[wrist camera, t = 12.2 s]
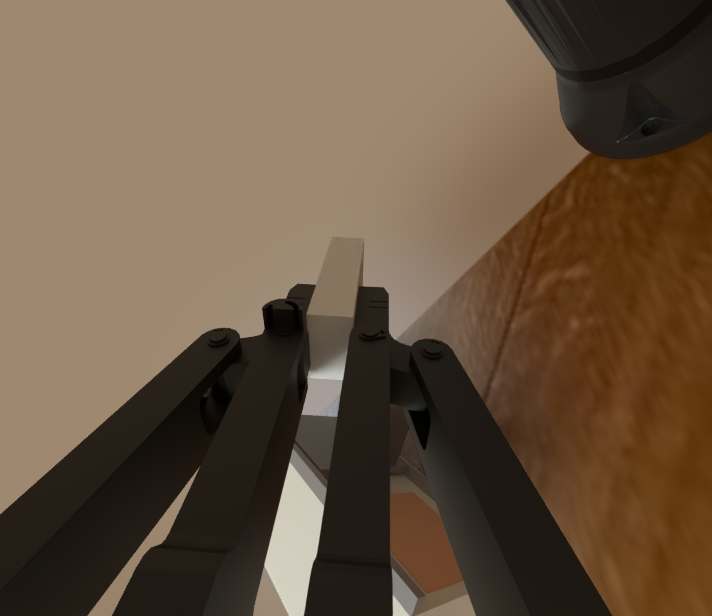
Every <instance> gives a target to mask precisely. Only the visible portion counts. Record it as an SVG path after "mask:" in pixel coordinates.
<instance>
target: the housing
mask: <svg viewBox="0 0 712 616" xmlns="http://www.w3.org/2000/svg"><path fill="white" fill-rule="evenodd" d="M399 459H400V460H401V461H403V462H404V463H405V464H406V465H407V469H406V472H402V473H390V561H391V567H392V578H393V616H476V615H475V612H474V609H473V606H472V604H471V601H470V598H469V595H468V592H467V589H466V587H465V584H464V581H463V578H462V575H461V572H460V570H459V567H458V564H457V561H456V558H455V556H454V553H453V550H452V547H451V544H450V541H449V539H448V536H447V533H446V530H445V527H444V524H443V522H442V519H441V516H440V513H439V510H438V507H437V505H436V502H435V499H434V496H433V493H432V491H431V488H430V485H429V482H428V479H427V476H426V475H425V474H423V473H422V472H421V471H420V470H418V469H417V468H416V467H415V466H414V465H412V464H411V463H410V462H409V461H407V460H406V459H405V458H404V457H403V456H401V455H399ZM327 484H328V477H324V476H323V475H322V474H321V473H320V472H319V470H318V469H317V468H316V467H315V466H314V465H313V463H312V462H311V461H310V460H309V459H308V458H307V456H306V455H305V454H304V453H303V452H302V451H301V450H300V448H299V447H298V446H297V445H296V444H295V443H294V446H293V450H292V454H291V459H290V463H289V467H288V471H287V475H286V479H285V483H284V487H283V491H282V495H281V499H280V503H279V507H278V511H277V515H276V519H275V523H274V527H273V531H272V536H271V540H270V544H269V548H268V552H267V556H266V560H265V564H264V566H265V568H266V569H267V572H268V574H269V576H270V578H271V580H272V582H273V584H274V586H275V588H276V590H277V592H278V594H279V596H280V598H281V600H282V602H283V604H284V606H285V608H286V610H287V612H288V614H289V616H304V611H305V605H306V598H307V592H308V586H309V580H310V574H311V569H312V565H313V561H314V560H315V558H316V555H317V550H318V544H319V537H320V531H321V524H322V517H323V510H324V504H325V497H326V490H327Z"/></svg>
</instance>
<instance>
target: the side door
mask: <svg viewBox="0 0 712 616" xmlns="http://www.w3.org/2000/svg"><path fill="white" fill-rule="evenodd" d="M336 423H337V417H328V416H313V415H301V418H300V422H299V426H298V430H297V434H296V438H295V442H294V443H295V444H296V445H297V446H298V447H299V448H300V450H301V451H302V452H303V453H304V454H305V455H306V456H307V458H308V459H309V460H310V461H311V462H312V463H313V465H314V466H315V467H316V468H317V469H318V470H319V472H320V473H321V474H322V475H323V476H324V477H329V470H330V463H331V457H332V450H333V443H334V437H335V430H336ZM408 429H409V426H408V423H407V420H406V417H405V414H404V408H402V407H400V406H397V405H394V404H391V403H390V473H402V472H406V469H407V465H406V464H405V463H404V462H403V461H401V460H400V459H399V455H400V452H401V449H402V446H403V443H404V441H405V438H406V435H407V432H408Z"/></svg>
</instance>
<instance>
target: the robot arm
mask: <svg viewBox="0 0 712 616" xmlns="http://www.w3.org/2000/svg"><path fill="white" fill-rule="evenodd" d="M506 2H507V3H508V5H509V6H510V7H511V9H512V10H513V12H514V13H515V14H516V16H517V17H518V19H519V20H520V21H521V23H522V24H523V26H524V27H525V28H526V30H527V31H528V33H529V34H530V35H531V37H532V38H533V40H534V41H535V42H536V44H537V45H538V47H539V48H540V50H541V51H542V52H543V54H544V55H545V57H546V58H547V59H548V60H549V62H550V63H551V65H552V66H553V68H554V69H555V71H556V77H557V78H556V79H557V86H558V95H559V102H560V111H561V116H562V119H563V121H564V124H565V126H566V128H567V129H568V131H569V132H570V133H571V134H572V136H573V137H574V138H575V139H576V141H577V142H578V143H579V144H580V145H581V146H582V147H583V148H585V149H586V150H588V151H590V152H592V153H594V154H597V155H600V156H603V157H609V158H619V159H627V158H639V157H646V156H650V155H655V154H659V153H663V152H666V151H669V150H672V149H675V148H677V147H680V146H683V145H685V144H687V143H690V142H692V141H694V140H696V139H698V138H700V137H702V136H704V135H706V134H708V133H709V132H711V131H712V0H506ZM363 256H364V238H342V237H332V239H331V242H330V245H329V248H328V251H327V254H326V257H325V260H324V263H323V266H322V269H321V272H320V275H319V278H318V281H317V284H316V285H309V284H297V285H296V286H294V287H293V288H292V289H290V291H289V293H288V296H287V298H286V299H277V300H273V301H271V302H268V303H267V304H265V305H264V306H263V307H262V311H263V318H264V326H265V329H264V332H263V334H261V335H258V336H254V337H248V338H240V335H239V333H238V332H237V331H236V330H233V329H231V328H217V329H213V330H210V331H208V332H206V333H204V334H203V335H201V336H200V337H199V338H198V339H197V340H196V341H195V342H193V343H192V344H191V345H190V346H189V347H188V348H187V349H186V350H184V351H183V352H182V353H181V354H180V355H179V356H178V357H177V358H175V359H174V360H173V361H172V362H171V363H170V364H169V365H168V366H166V367H165V368H164V369H163V370H162V371H161V372H160V373H159V374H158V375H156V376H155V377H154V378H153V379H152V380H151V381H150V382H148V383H147V384H146V385H145V386H144V387H143V388H142V389H141V390H140V391H138V392H137V393H136V394H135V395H134V396H133V397H132V398H131V399H129V400H128V401H127V402H126V403H125V404H124V405H123V406H122V407H120V408H119V409H118V410H117V411H116V412H115V413H114V414H113V415H111V416H110V417H109V418H108V419H107V420H106V421H105V422H104V423H102V424H101V425H100V426H99V427H98V428H97V429H96V430H95V431H94V432H92V433H91V434H90V435H89V436H88V437H87V438H86V439H84V440H83V441H82V442H81V443H80V444H79V445H78V446H77V447H76V448H74V449H73V450H72V451H71V452H70V453H69V454H68V455H67V456H65V457H64V458H63V459H62V460H61V461H60V462H59V463H58V464H56V465H55V466H54V467H53V468H52V469H51V470H50V471H49V472H47V473H46V474H45V475H44V476H43V477H42V478H41V479H40V480H38V481H37V482H36V483H35V484H34V485H33V486H32V487H31V488H29V489H28V490H27V491H26V492H25V493H24V494H23V495H22V496H20V497H19V498H18V499H17V500H16V501H15V502H14V503H13V504H12V505H10V506H9V507H8V508H7V509H6V510H5V511H4V512H3V513H1V514H0V616H87V615H88V614H89V613H90V611H91V610H92V609H93V607H94V606H95V605H96V604H97V602H98V601H99V600H100V598H101V597H102V596H103V594H104V593H105V591H106V590H107V589H108V588H109V586H110V585H111V584H112V582H113V581H114V580H115V578H116V577H117V576H118V574H119V573H120V572H121V570H122V569H123V568H124V566H125V565H126V564H127V562H128V561H129V560H130V558H131V557H132V556H133V554H134V553H135V552H136V550H137V549H138V548H139V546H140V545H141V544H142V542H143V541H144V540H145V539H146V537H147V536H148V535H149V533H150V532H151V531H152V529H153V528H154V526H155V525H156V524H157V523H158V521H159V520H160V519H161V517H162V516H163V515H164V513H165V512H166V511H167V509H168V508H169V507H170V505H171V504H172V502H173V501H174V500H175V499H176V497H177V496H178V495H179V493H180V492H181V491H182V489H183V488H184V487H185V485H186V484H187V483H188V481H189V480H190V479H191V478H192V476H193V475H194V473H195V472H196V471H197V469H198V468H199V467H200V468H199V470H198V472H197V475H196V477H195V479H194V481H193V483H192V485H191V488H190V490H189V492H188V494H187V496H186V498H185V500H184V502H183V505H182V507H181V509H180V511H179V513H178V515H177V517H176V519H175V522H174V524H173V526H172V528H171V530H170V532H169V534H168V536H167V537H166V539H165V540H164V541H163V543H162V544H160V545H157V546H154V547H151V548H150V549H149V550H148V551H147V553H145V555H144V556H143V557H142V559H141V561H140V562H139V564H138V566H137V567H136V569H135V571H134V573H133V575H132V577H131V579H130V581H129V583H128V585H127V587H126V589H125V591H124V593H123V595H122V597H121V599H120V601H119V603H118V605H117V607H116V609H115V611H114V613H113V615H112V616H253V611H254V605H255V600H256V596H257V592H258V588H259V584H260V580H261V576H262V572H263V568H264V564H265V560H266V556H267V552H268V548H269V544H270V540H271V536H272V531H273V527H274V523H275V519H276V515H277V511H278V507H279V503H280V499H281V495H282V491H283V487H284V483H285V479H286V475H287V471H288V467H289V463H290V459H291V454H292V450H293V446H294V442H295V438H296V434H297V430H298V426H299V422H300V418H301V414H302V410H303V405H304V402H305V398H306V394H307V389H308V384H307V383H308V382H307V376H308V372H309V369H310V378H318V379H335V380H343V383H342V390H341V396H340V403H339V410H338V416H337V423H336V430H335V437H334V443H333V450H332V457H331V463H330V470H329V477H328V484H327V490H326V497H325V504H324V510H323V517H322V524H321V531H320V537H319V544H318V550H317V555H316V558H315V560H314V561H313V565H312V569H311V574H310V580H309V586H308V592H307V598H306V605H305V611H304V616H393V578H392V567H391V561H390V403H391V404H394V405H397V406H400V407H402V408H404V414H405V417H406V420H407V423H408V426H409V428H410V431H411V434H412V437H413V440H414V443H415V445H416V448H417V451H418V454H419V457H420V459H421V462H422V465H423V468H424V471H425V474H426V476H427V479H428V482H429V485H430V488H431V491H432V493H433V496H434V499H435V502H436V505H437V507H438V510H439V513H440V516H441V519H442V522H443V524H444V527H445V530H446V533H447V536H448V539H449V541H450V544H451V547H452V550H453V553H454V556H455V558H456V561H457V564H458V567H459V570H460V572H461V575H462V578H463V581H464V584H465V587H466V589H467V592H468V595H469V598H470V601H471V604H472V606H473V609H474V612H475V615H476V616H612V614H611V613H610V611H609V609H608V608H607V606H606V604H605V603H604V601H603V599H602V598H601V596H600V594H599V593H598V591H597V589H596V588H595V586H594V584H593V583H592V581H591V579H590V578H589V576H588V574H587V573H586V571H585V569H584V568H583V566H582V565H581V563H580V561H579V560H578V558H577V556H576V555H575V553H574V551H573V550H572V548H571V546H570V545H569V543H568V541H567V540H566V538H565V536H564V535H563V533H562V531H561V530H560V528H559V526H558V525H557V523H556V521H555V520H554V518H553V516H552V515H551V513H550V511H549V510H548V508H547V506H546V505H545V503H544V501H543V500H542V498H541V496H540V495H539V493H538V491H537V490H536V488H535V486H534V485H533V483H532V482H531V480H530V478H529V477H528V475H527V473H526V472H525V470H524V468H523V467H522V465H521V463H520V462H519V460H518V458H517V457H516V455H515V453H514V452H513V450H512V448H511V447H510V445H509V443H508V442H507V440H506V438H505V437H504V435H503V433H502V432H501V430H500V428H499V427H498V425H497V423H496V422H495V420H494V418H493V417H492V415H491V413H490V412H489V410H488V408H487V407H486V405H485V404H484V402H483V400H482V399H481V397H480V395H479V394H478V392H477V390H476V389H475V387H474V385H473V384H472V382H471V380H470V379H469V377H468V375H467V374H466V372H465V370H464V369H463V367H462V365H461V364H460V362H459V360H458V359H457V357H456V355H455V354H454V352H453V350H452V349H451V348H450V347H449V346H448V345H447V344H445V343H443V342H441V341H438V340H434V339H423V340H418V341H417V342H415V343H414V344H413V345H412V347H411V346H407V345H404V344H402V343H399V342H398V341H396V340H394V339H393V338H392V337H391V335H390V334H389V311H388V310H389V294H388V293H387V292H386V290H385V289H384V288H383V287H364V286H362V285H363Z"/></svg>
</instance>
